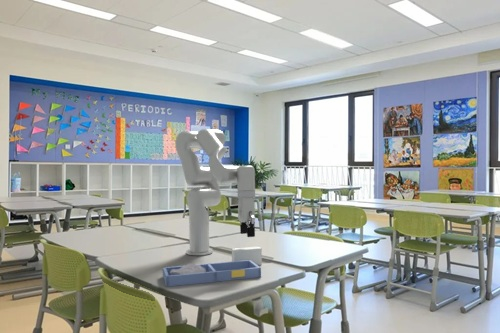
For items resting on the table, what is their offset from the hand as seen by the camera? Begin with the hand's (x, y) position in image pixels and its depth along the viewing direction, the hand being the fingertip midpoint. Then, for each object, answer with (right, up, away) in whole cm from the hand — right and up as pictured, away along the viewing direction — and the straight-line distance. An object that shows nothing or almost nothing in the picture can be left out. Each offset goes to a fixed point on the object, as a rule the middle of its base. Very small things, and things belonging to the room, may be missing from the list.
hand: (247, 235), depth 164 cm
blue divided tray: (-13, -13, -17) cm, 25 cm away
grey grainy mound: (-22, -13, -20) cm, 32 cm away
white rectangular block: (0, -13, 0) cm, 13 cm away
